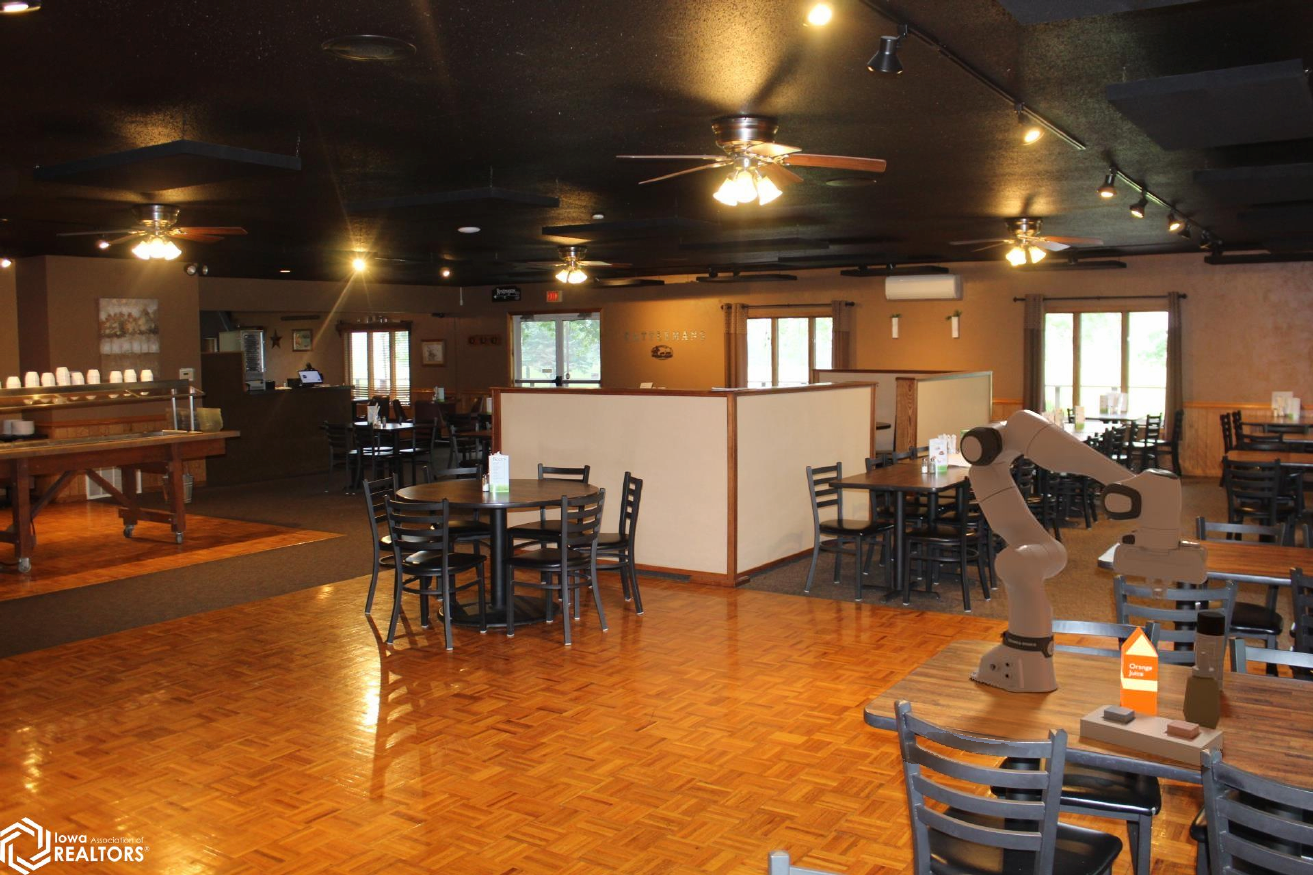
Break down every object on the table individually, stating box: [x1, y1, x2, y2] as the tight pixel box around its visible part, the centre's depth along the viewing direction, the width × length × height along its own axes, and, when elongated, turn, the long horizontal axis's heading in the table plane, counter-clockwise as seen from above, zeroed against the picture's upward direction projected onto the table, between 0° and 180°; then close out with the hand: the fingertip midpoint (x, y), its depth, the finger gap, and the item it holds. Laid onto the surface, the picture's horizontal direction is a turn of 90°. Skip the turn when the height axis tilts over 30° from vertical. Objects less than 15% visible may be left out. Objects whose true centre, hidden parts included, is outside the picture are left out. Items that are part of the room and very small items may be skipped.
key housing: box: [1079, 704, 1224, 767], centre depth 236 cm, size 26×14×4 cm, turn 44°
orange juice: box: [1119, 625, 1159, 716], centre depth 259 cm, size 8×9×20 cm
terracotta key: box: [1167, 718, 1199, 740], centre depth 231 cm, size 5×5×4 cm
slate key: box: [1104, 704, 1135, 724], centre depth 241 cm, size 5×5×4 cm
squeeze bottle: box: [1182, 652, 1222, 730], centre depth 244 cm, size 8×8×18 cm
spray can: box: [1194, 611, 1226, 692], centre depth 274 cm, size 7×7×20 cm
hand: (1158, 597), depth 244 cm, fingers closed
